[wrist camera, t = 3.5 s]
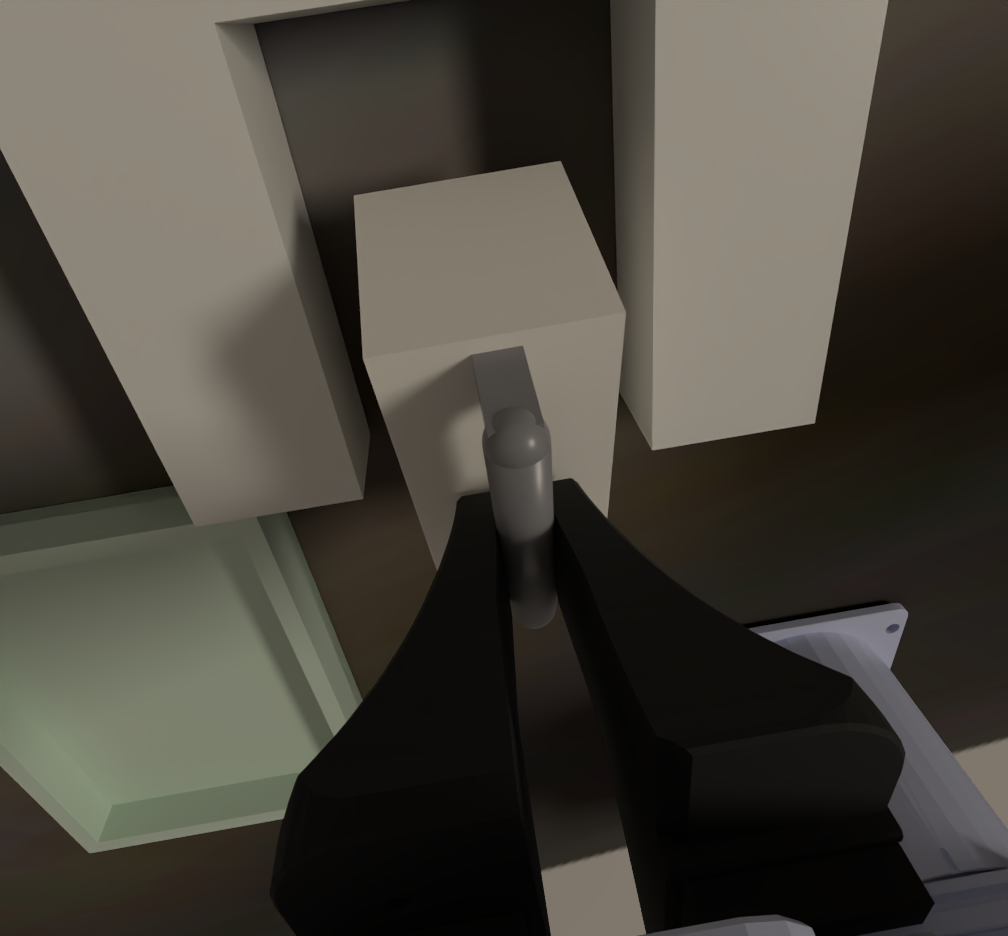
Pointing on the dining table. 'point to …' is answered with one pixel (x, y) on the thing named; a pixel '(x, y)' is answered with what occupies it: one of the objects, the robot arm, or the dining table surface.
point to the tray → (161, 667)
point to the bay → (296, 261)
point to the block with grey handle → (492, 356)
